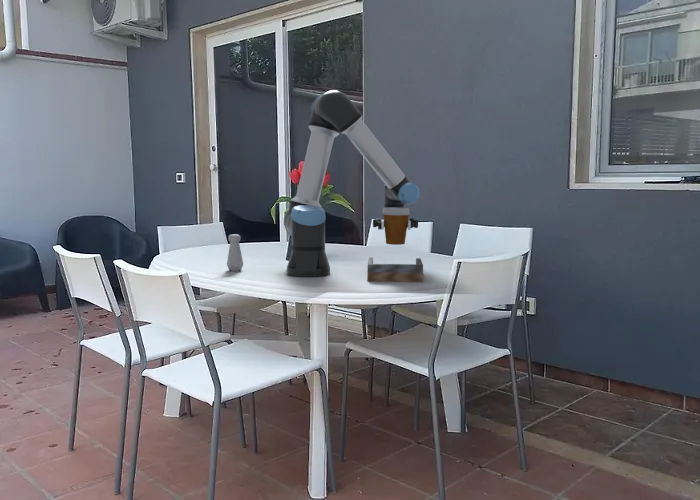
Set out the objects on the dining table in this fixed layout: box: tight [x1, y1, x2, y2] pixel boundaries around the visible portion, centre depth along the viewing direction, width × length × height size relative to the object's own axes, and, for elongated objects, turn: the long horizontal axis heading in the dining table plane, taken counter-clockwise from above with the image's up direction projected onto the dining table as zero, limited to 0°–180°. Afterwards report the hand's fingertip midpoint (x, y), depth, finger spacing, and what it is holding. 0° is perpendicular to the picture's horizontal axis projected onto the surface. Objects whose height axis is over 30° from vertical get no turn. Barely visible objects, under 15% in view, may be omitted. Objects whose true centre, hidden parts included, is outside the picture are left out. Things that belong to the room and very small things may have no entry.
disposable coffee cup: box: [381, 207, 411, 246], centre depth 202 cm, size 10×10×12 cm
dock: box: [366, 257, 424, 283], centre depth 203 cm, size 18×16×6 cm
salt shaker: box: [226, 233, 244, 272], centre depth 215 cm, size 6×6×13 cm
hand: (396, 225), depth 197 cm, fingers closed on disposable coffee cup, 8 cm apart
